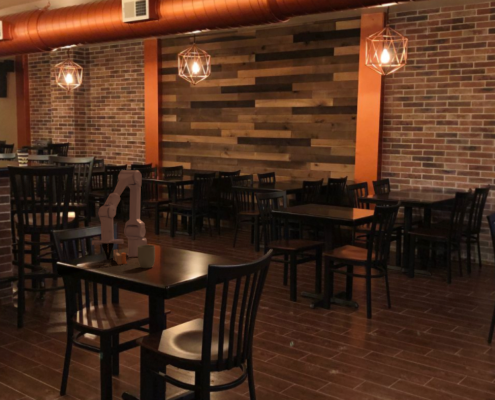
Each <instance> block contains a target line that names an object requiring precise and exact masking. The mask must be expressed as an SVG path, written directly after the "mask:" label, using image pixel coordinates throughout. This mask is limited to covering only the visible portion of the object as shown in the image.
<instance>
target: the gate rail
mask: <svg viewBox="0 0 495 400" xmlns="http://www.w3.org/2000/svg"><path fill="white" fill-rule="evenodd" d="M118 252H119V251H118ZM118 252H115V260H114V261H115V263H117V265H123V264H122V256H121V253H120V252H119V253H118Z"/></svg>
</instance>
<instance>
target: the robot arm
mask: <svg viewBox="0 0 495 400" xmlns="http://www.w3.org/2000/svg"><path fill="white" fill-rule="evenodd" d="M142 176H143V175H142V173H141V171H140V170H138V169H136V170H130V169H129V170H124V169H121V170H120V171H119V173H118V175H117V177H118V179H117V180H118V181H117V183H116V186H115V187H114V190H113V192H112V193H109V194H108V197H107V198H106V200H105V202H104V204H103V205H101V206H100V207H99V208H98V212H97V214H98V217H99V221H100V232H101V239H94V240H93V239H92V240H91V245H92V246H94V245H95V246H97V245H101V247H102V249H103V251H104V253H105V257H106V260H110V259H111V253H112V250H113V248H114V245H118V244H121V245H123V244H124V239H123V238H120V239H119V238H117V239H116V238H115V235H114V233H115V231H114V229H115V228H114V217H115V216H116V215H117V207H118V205H119V203H120V201H121V197H120V196H121V195H122V193H123V192H124V190H125V189H126V188H127V187H128V188H129V219H128V220H127V221H126V222H125V226H124V229H123V232H124V237H126V239H127V249H128V250H127V253H126V257H128V258H134V257H136V258H138V254H137V247H138V246H140V245H148V242H147V241H148V240H147V238H146V237H145V236H146V232H147V230H146V224H145V222H144V221H143V220H141V189H142V188H141V187H142V186H143V185H142V180H143V179H142V178H143V177H142Z"/></svg>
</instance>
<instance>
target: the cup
mask: <svg viewBox="0 0 495 400" xmlns="http://www.w3.org/2000/svg"><path fill="white" fill-rule="evenodd" d="M137 254H138V256H137V263H138V265H139V266H138V267H140V268H141V269H152V268H153V267H154V265H155V263H156V262H155V260H156V246H155V245H153V244H147V245H140V246H138V247H137Z"/></svg>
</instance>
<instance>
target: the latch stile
mask: <svg viewBox="0 0 495 400" xmlns="http://www.w3.org/2000/svg"><path fill="white" fill-rule="evenodd" d="M126 254H127V252H120V255H121V256H122V264H121V265H126V264H127V265H128V262H127V255H126Z"/></svg>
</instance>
